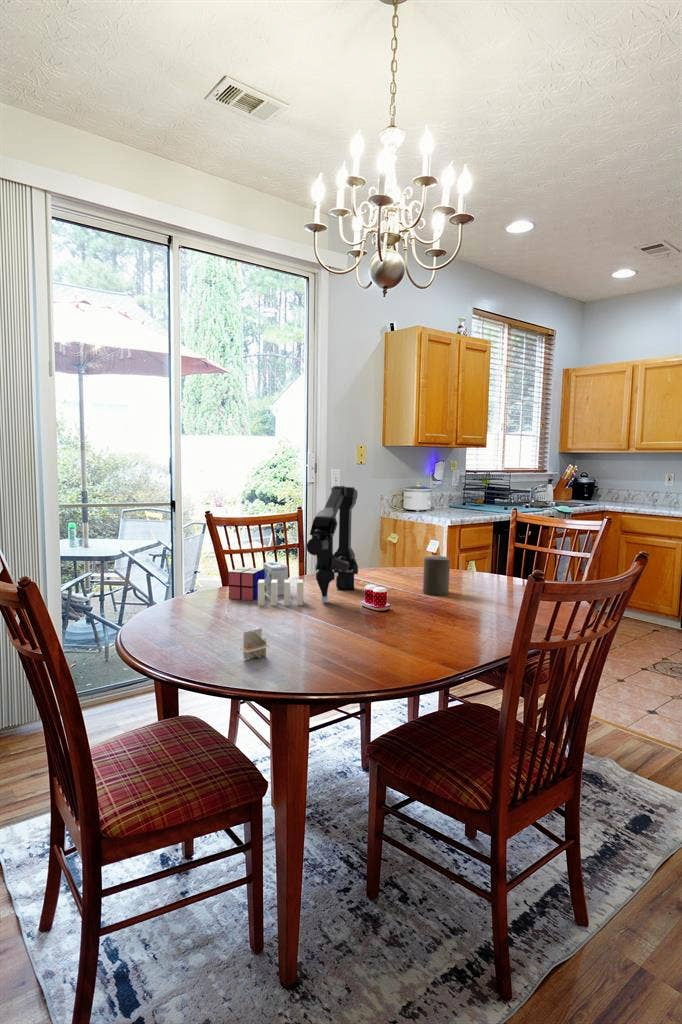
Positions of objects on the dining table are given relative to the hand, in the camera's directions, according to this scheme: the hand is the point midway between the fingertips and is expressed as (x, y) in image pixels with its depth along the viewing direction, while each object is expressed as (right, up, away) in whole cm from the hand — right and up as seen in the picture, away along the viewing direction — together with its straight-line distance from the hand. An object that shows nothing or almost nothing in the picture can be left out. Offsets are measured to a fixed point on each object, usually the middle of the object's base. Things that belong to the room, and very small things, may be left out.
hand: (324, 594), depth 205 cm
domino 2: (-17, -3, -1) cm, 18 cm away
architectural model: (-16, -9, -57) cm, 59 cm away
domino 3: (-13, -3, 0) cm, 13 cm away
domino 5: (0, -2, 0) cm, 2 cm away
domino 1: (-22, -3, -1) cm, 22 cm away
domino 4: (-8, -3, 0) cm, 9 cm away
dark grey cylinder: (+42, -2, +18) cm, 46 cm away
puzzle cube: (-29, -2, +9) cm, 30 cm away
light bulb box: (-19, -2, +16) cm, 25 cm away
